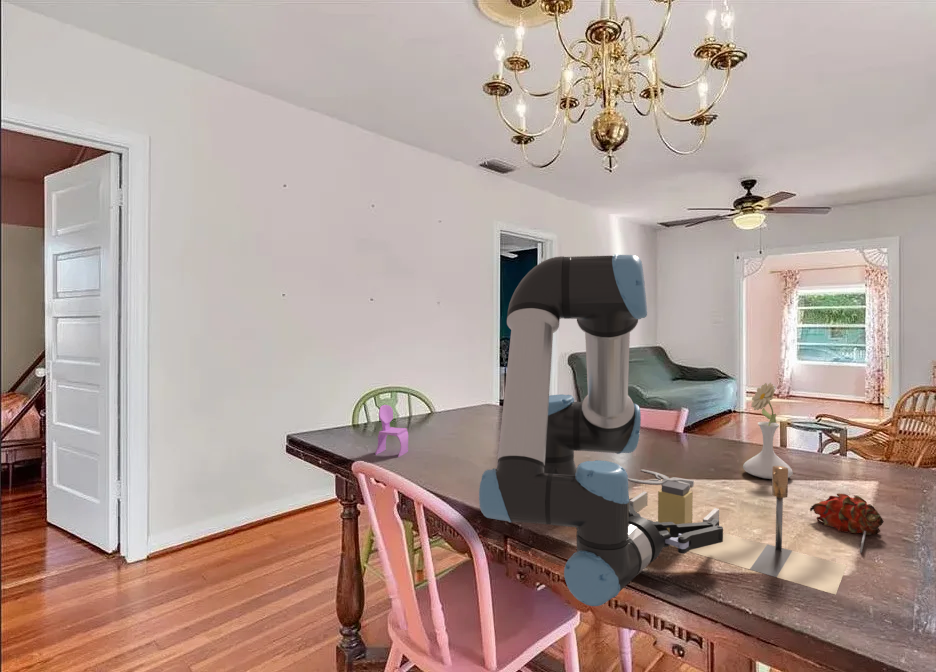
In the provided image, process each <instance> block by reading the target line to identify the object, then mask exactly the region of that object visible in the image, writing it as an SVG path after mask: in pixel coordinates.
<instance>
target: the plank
mask: <svg viewBox="0 0 936 672" xmlns="http://www.w3.org/2000/svg"><path fill="white" fill-rule="evenodd" d="M656 521H658V518H656V520H654V521H653V522H656ZM669 547H672V548H676V549H678V547H675V546H672V545H670V546H669ZM688 552H689V553H692V554H696V555H699V556H701V557H706V558H709V559H712V560H716V561H719V562H723V563H726V564H730V565H732V566H736V567H738V568H739V567H740V568H743V569H746V570H750V571H753V572H756V573H761V574H764V575H766V576H771V577H773V578H777V579H780V580H785V581H788V582H790V583H794V584H798V585H800V586H801V585H802V586H804V587H808V588H810V589H813V590H818V591H821V592H825V593H828V594H831V595H835V596H836V595H837V592H838V590H839V588H840V587H839V586H840V585H841V581H842V579H843V576H844V574H845V571H846V568H847V564H845V563H842V562H837V561H833V560H829V559H826V558H822V557H818V556H815V555H810V554H806V553H803V552H799V551H795V550H791V549H787V548H783V547H782V550H781V551H778V550H776V549H775V545H772V544H769V543H764V542H761V541H757V540H753V539H749V538H744V537H741V536H737V535H734V534H730V533H725V532H723V542H721V543H717V544H713V545H709V546H704V547H700V548H696V549H692V550H689V551H688ZM688 552H687V553H688Z"/></svg>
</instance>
